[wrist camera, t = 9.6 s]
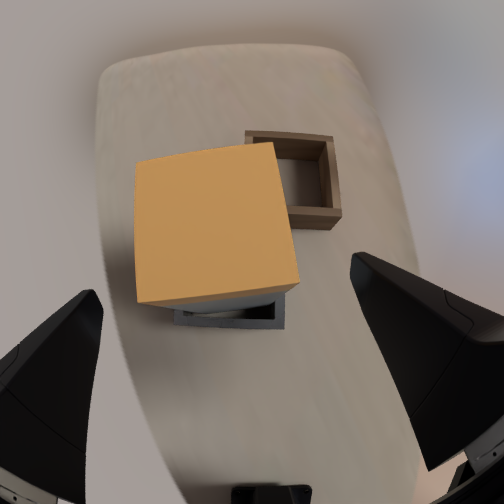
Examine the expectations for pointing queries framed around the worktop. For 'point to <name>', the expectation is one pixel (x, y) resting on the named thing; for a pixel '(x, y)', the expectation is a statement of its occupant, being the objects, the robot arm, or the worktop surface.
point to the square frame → (324, 153)
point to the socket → (274, 323)
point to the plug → (212, 230)
